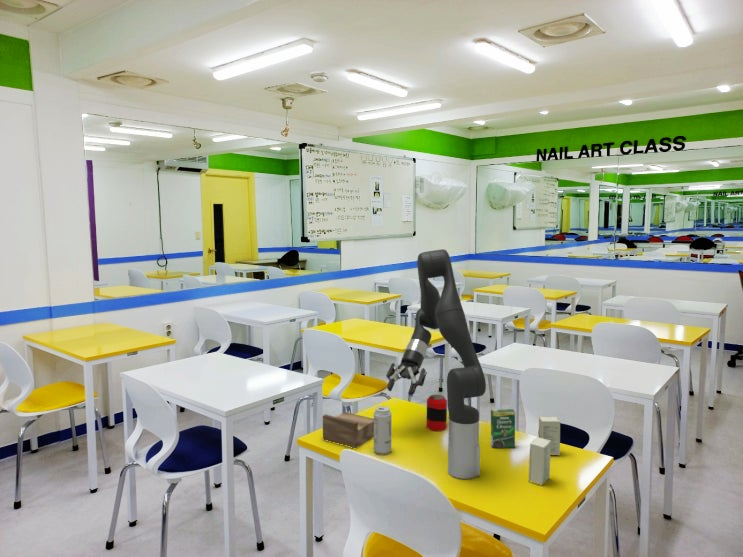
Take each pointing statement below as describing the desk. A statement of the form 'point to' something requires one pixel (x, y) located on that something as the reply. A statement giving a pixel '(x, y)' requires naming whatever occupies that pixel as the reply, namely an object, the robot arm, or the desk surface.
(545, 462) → the skincare box
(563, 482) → the desk surface
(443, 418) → the soda can
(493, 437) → the coffee box
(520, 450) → the desk surface
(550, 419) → the skincare box
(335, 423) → the walnut shelf block
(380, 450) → the energy drink can
